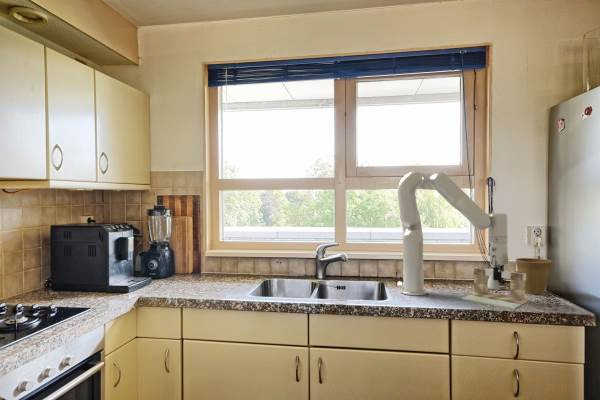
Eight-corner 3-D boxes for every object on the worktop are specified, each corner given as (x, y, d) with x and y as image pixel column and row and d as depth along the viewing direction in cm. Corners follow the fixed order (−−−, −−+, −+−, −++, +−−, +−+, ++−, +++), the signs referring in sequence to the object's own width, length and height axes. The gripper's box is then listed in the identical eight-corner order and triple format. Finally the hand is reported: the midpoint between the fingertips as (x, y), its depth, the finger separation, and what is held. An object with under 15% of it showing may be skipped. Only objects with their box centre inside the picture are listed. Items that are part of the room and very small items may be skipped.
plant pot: (559, 294, 178) (559, 261, 178) (537, 297, 173) (536, 263, 172) (530, 287, 192) (530, 256, 192) (509, 290, 186) (508, 258, 186)
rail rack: (471, 295, 178) (470, 268, 178) (477, 292, 184) (477, 266, 184) (522, 304, 162) (522, 274, 162) (528, 301, 167) (528, 272, 167)
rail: (473, 273, 180) (473, 267, 180) (475, 272, 182) (475, 267, 182) (524, 280, 164) (524, 274, 164) (526, 279, 166) (526, 273, 166)
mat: (461, 299, 171) (461, 298, 171) (469, 296, 177) (469, 294, 177) (514, 309, 155) (514, 308, 155) (520, 305, 161) (520, 304, 161)
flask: (502, 290, 187) (502, 270, 187) (487, 290, 188) (487, 270, 188) (498, 287, 194) (498, 268, 194) (483, 286, 196) (483, 267, 196)
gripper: (500, 242, 164) (500, 283, 165) (513, 239, 175) (513, 278, 176) (482, 240, 170) (483, 281, 170) (496, 237, 181) (496, 275, 181)
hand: (498, 279), depth 173 cm, fingers closed on rail, 2 cm apart
